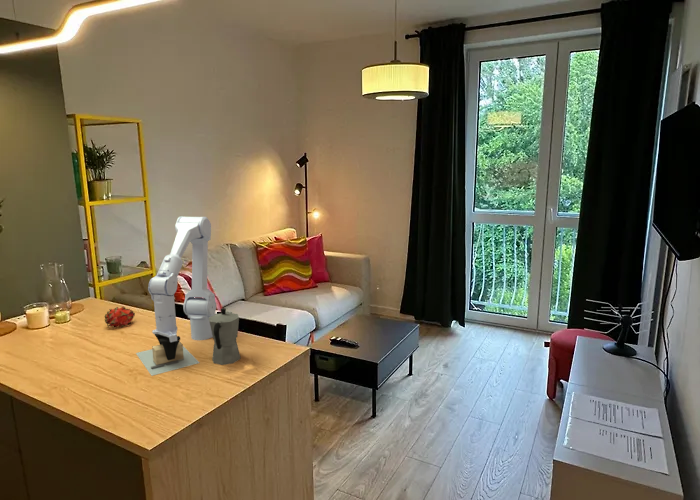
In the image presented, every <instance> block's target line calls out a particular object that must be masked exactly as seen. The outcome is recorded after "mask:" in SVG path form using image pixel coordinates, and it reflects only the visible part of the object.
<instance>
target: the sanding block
mask: <svg viewBox="0 0 700 500" xmlns="http://www.w3.org/2000/svg"><path fill="white" fill-rule="evenodd" d="M183 346H184V345H183V343H182V342H181V340H180V341H179V343H178V346H177V350H176V356H175V359H172V360H167V357H166V354H165V350H164V347H163V345H162V344H161V345H160V344H157V345H154V346H152V347H151V348H152V351H153V362H154V363H155V365H160V364H164V365H165V364H166V363H168V362H172V361H176V360H178V361H181V360H184V356H183Z"/></svg>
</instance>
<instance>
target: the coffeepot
mask: <svg viewBox="0 0 700 500" xmlns="http://www.w3.org/2000/svg"><path fill="white" fill-rule="evenodd" d="M220 312H221V313H215V315H213V316H211V317H209V322H210V326H211V331H212V335H213V337H212V339H213V346H212V347H213V349H212V358H211V359H212V363H213V364H217V365H221V366H224V365H225V366H226V365H231V364H235V363H236V362H238V361H239V360H241V355H240V350H239V349H240V348H239V345H238V342H237V338H238V334H239V324H240V322H239V321H240V317H239V314H238V313H233V312H232V311H227V308H225V307H222V308H220Z"/></svg>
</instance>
